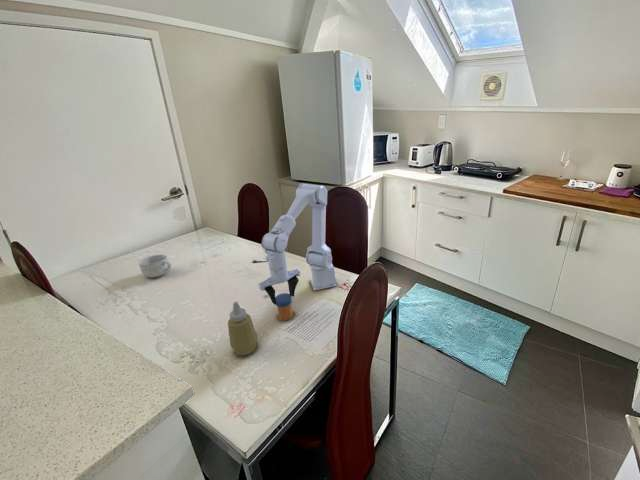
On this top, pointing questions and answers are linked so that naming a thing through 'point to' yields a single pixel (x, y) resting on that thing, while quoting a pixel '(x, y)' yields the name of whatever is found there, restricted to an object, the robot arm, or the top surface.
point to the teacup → (154, 265)
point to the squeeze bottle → (241, 331)
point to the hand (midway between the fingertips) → (283, 299)
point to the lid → (283, 300)
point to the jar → (285, 312)
